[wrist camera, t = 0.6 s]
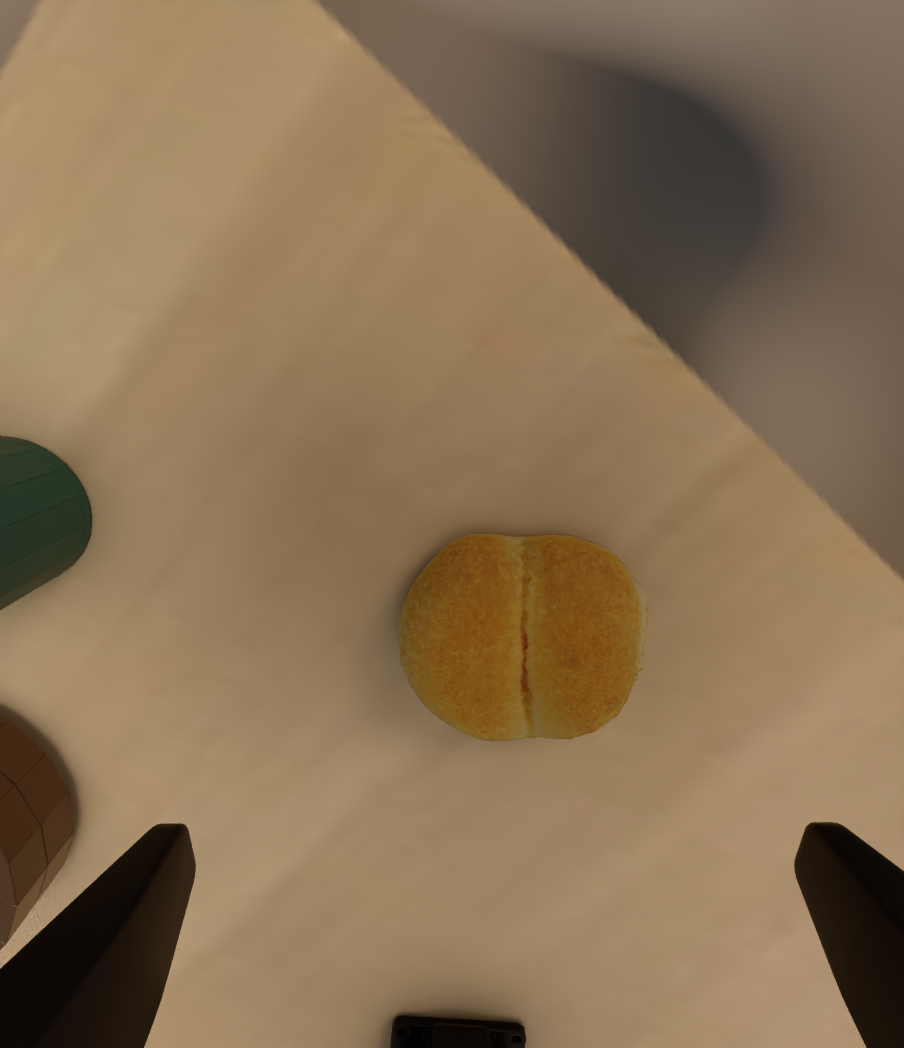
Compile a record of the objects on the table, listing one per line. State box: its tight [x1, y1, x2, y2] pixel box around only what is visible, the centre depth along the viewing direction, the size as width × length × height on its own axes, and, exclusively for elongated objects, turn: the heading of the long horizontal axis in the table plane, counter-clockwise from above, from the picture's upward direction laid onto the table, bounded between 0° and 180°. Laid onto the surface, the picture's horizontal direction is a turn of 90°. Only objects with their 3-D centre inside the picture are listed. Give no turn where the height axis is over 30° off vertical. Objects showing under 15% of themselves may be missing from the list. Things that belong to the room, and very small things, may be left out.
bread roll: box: [398, 533, 647, 741], centre depth 22 cm, size 8×9×4 cm
